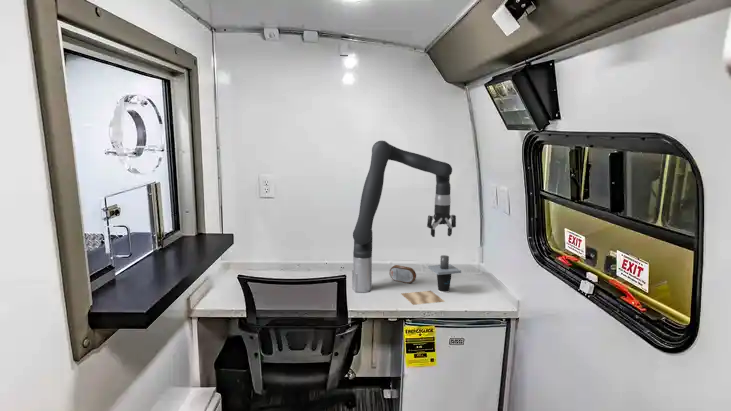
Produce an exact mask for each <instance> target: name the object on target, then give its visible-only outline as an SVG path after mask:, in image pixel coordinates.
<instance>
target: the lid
mask: <svg viewBox="0 0 731 411" xmlns="http://www.w3.org/2000/svg"><path fill="white" fill-rule="evenodd" d="M449 260H450V256H449V255H446V254H445V255H444V254H443V255H440V264H436V265H428V266H427V269H429V270H430V271H432V272H433V273H434V274H436V275H437V274H438V275H443V274H451V275H452V274H462V270H461V269H459V268H458V267H455V266H454V265H452V264H451V263H450V261H449Z"/></svg>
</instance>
